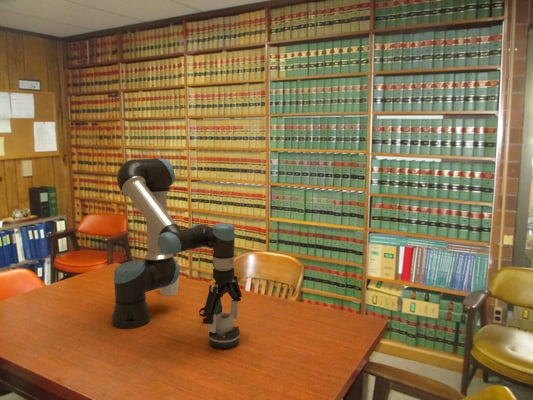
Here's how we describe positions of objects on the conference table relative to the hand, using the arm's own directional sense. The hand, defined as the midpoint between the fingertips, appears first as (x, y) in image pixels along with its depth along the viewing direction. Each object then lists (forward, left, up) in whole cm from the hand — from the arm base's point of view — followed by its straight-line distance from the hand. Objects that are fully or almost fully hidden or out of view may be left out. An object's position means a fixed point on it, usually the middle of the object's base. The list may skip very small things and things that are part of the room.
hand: (223, 324), depth 152 cm
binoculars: (-16, +13, -7) cm, 21 cm away
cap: (+1, 0, -3) cm, 3 cm away
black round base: (0, 0, -7) cm, 7 cm away
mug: (-52, +29, -7) cm, 60 cm away
